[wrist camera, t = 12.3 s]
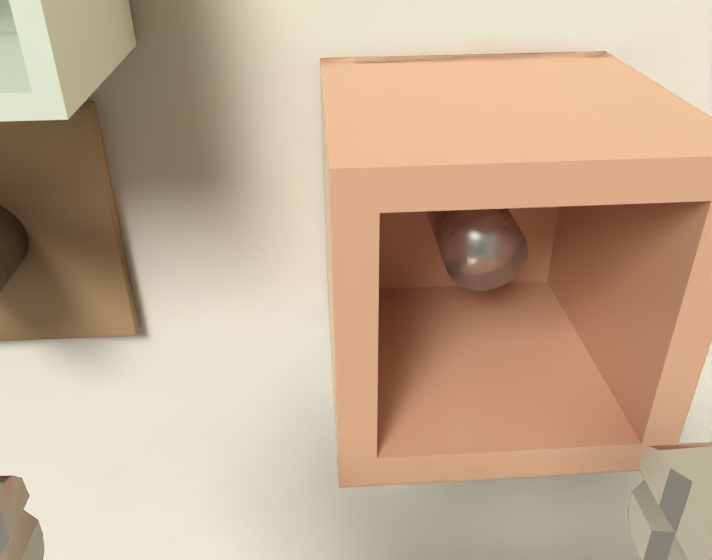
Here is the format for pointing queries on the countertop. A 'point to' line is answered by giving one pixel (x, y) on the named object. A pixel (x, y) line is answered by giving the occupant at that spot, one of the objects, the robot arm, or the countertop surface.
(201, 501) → the countertop surface
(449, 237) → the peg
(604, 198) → the planter
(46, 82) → the tub
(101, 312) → the lid
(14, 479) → the robot arm
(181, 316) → the countertop surface
